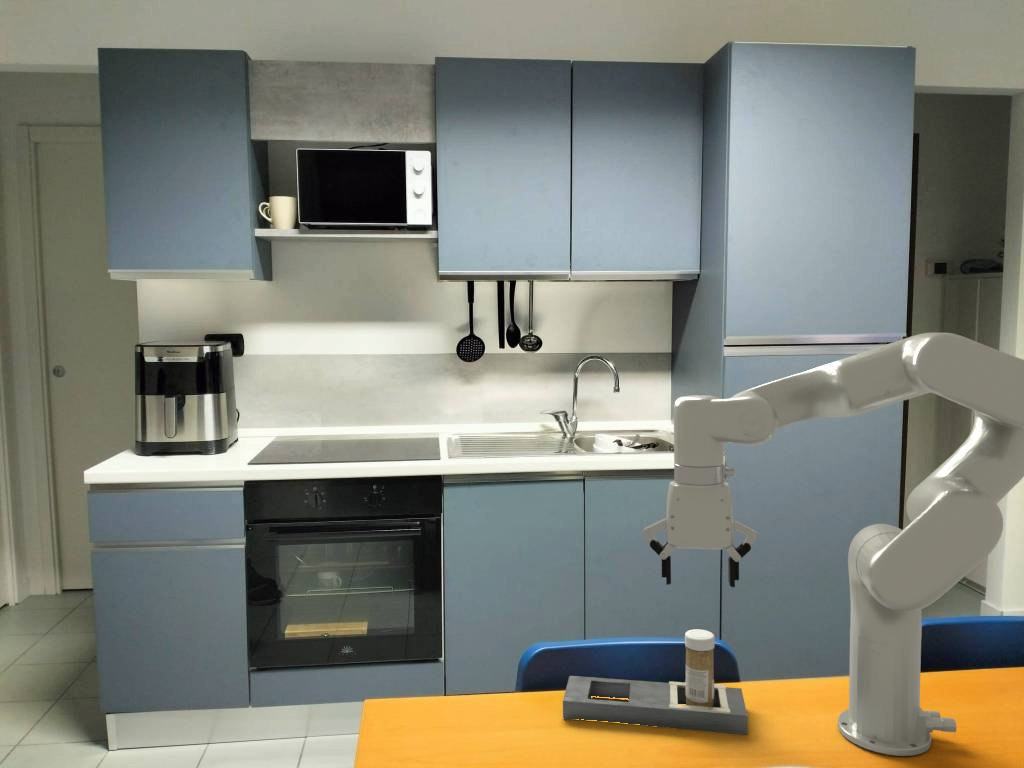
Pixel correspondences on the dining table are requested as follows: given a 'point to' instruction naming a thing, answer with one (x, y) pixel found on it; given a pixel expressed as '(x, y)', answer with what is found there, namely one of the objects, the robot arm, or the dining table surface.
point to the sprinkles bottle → (699, 668)
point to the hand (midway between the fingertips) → (699, 583)
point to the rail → (654, 705)
